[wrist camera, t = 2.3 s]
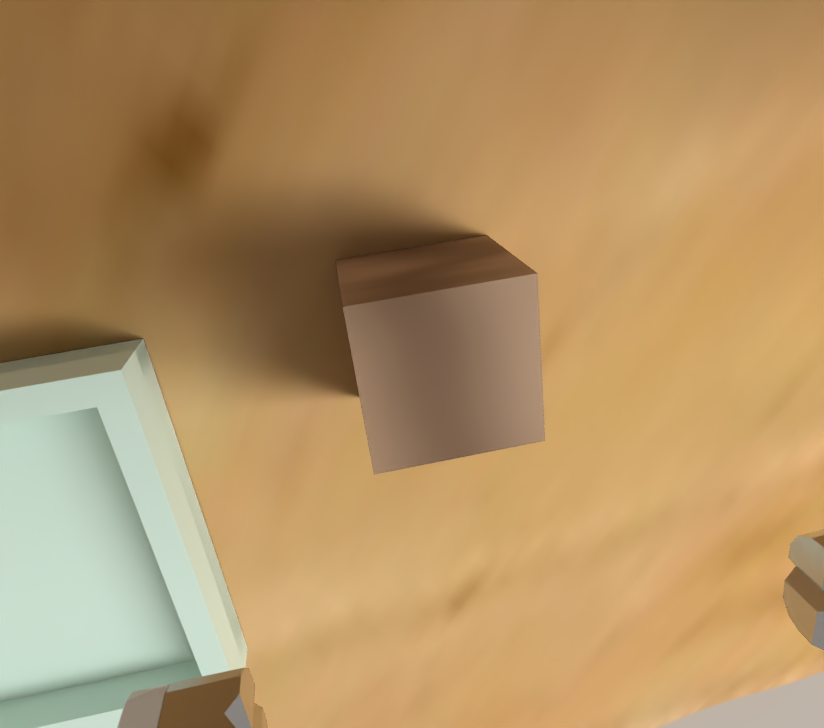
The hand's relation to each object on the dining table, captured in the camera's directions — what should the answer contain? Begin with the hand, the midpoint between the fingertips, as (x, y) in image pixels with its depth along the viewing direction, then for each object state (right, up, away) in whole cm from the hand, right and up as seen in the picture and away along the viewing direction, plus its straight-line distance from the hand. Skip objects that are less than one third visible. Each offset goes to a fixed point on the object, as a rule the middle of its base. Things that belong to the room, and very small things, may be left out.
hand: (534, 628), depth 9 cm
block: (-1, +5, +12) cm, 13 cm away
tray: (-16, -3, +13) cm, 21 cm away
